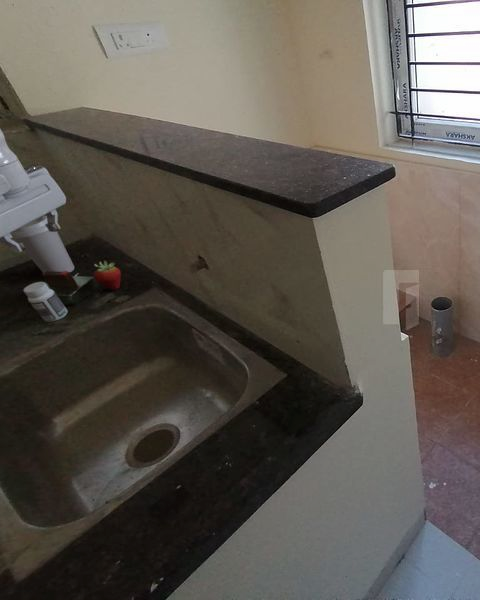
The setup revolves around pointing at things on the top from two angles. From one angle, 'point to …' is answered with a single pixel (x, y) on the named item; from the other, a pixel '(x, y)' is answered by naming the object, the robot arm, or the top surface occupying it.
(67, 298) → the dial panel
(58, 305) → the pill bottle
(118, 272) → the fruit
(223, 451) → the top surface
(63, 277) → the dark red block
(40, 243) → the coffee cup
